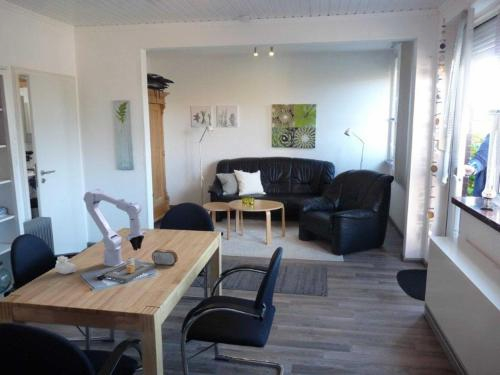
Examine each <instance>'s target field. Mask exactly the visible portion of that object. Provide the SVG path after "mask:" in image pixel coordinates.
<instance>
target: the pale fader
mask: <svg viewBox="0 0 500 375" xmlns="http://www.w3.org/2000/svg"><path fill="white" fill-rule="evenodd" d="M134 260H135V258H134V257H128V258H126V260H125V263H126V264H127V265H129V264H131V265H135V261H134Z"/></svg>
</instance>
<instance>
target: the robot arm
mask: <svg viewBox="0 0 500 375" xmlns="http://www.w3.org/2000/svg"><path fill="white" fill-rule="evenodd" d="M101 201H104V202H106V203H110V204H112V205H115V207H116V208H117V209H118V210H121V211H122V212H126V214H127V215H128V218H129V231H130V233H129V234H128V235H126V236H125V241H126V242H127V241H129V242H130V244H131V246H132V249H133V251H138V249H139V250H141V248H142V244H143V240H144V239H145V236H144V235H146V234H147V229H142V224H141V212H142V206H141V205H140V204H139V203H138V202H135V203H134V202H132V201H128V200H126V199H125V198H116V197H114V196H113V195H110V194H109V193H107V192H105V190H102V189H99V188H95V189H93V190H91V191H86V192H85V193H84V196H83V202H84V203H85V207H86V210H87V212H88V213H89V215H90V217H91V218H92V221H93V222H94V223H95V225H96V227H97V228H98V230H99V231H100V233H101V235H102V236H103V238H102V242H103V245H104V248H105V249H104V251H103V264H102V265H103V266H109V267H115V268H116V267H118V266H119V267H120V265H121V266H122V265H123V264H125V263H126V260H125V261H123V258H122V256H123V255H122V245H123V242H124V240H123V238H122V236H120V235H119V234H118V232H116V231H113V229H112V228H111V226H110V225H109V223H108V221H107V220H106V219H105V216H104V215H103V214H102V211H101V210H100V209H99V205H100V203H101Z"/></svg>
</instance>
